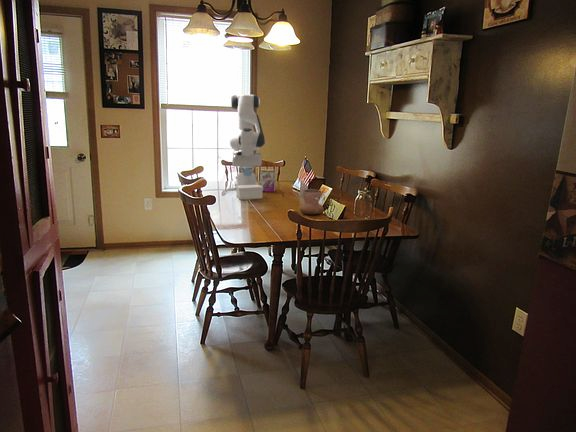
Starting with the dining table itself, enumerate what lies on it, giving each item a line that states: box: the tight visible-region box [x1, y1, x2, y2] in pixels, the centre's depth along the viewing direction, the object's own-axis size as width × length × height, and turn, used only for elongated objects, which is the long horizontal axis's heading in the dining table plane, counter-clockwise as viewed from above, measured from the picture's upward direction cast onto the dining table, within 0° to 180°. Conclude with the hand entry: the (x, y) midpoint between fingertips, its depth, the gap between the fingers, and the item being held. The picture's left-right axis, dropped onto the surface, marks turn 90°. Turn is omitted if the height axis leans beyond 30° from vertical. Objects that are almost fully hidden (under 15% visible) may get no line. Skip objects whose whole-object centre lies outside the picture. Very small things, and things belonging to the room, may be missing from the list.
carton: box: [235, 186, 263, 201], centre depth 308 cm, size 12×16×7 cm
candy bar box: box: [259, 168, 276, 193], centre depth 330 cm, size 11×5×16 cm, turn 84°
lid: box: [235, 184, 263, 191], centre depth 307 cm, size 13×17×2 cm
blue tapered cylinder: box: [244, 167, 251, 176], centre depth 305 cm, size 5×5×5 cm
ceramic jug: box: [299, 188, 325, 216], centre depth 266 cm, size 18×14×14 cm
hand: (247, 172), depth 305 cm, fingers closed on blue tapered cylinder, 5 cm apart
